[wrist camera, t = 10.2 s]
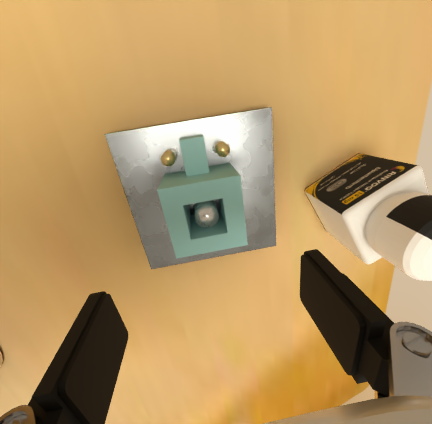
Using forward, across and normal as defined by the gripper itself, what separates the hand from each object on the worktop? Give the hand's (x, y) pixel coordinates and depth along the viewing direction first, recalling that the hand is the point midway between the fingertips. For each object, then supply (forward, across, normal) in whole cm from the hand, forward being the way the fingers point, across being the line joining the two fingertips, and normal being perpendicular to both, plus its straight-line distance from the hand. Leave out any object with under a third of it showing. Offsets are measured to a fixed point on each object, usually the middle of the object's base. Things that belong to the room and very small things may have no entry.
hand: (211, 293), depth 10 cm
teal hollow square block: (+13, 0, -2) cm, 13 cm away
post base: (+14, 0, 0) cm, 14 cm away
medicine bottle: (+14, -17, +3) cm, 22 cm away
